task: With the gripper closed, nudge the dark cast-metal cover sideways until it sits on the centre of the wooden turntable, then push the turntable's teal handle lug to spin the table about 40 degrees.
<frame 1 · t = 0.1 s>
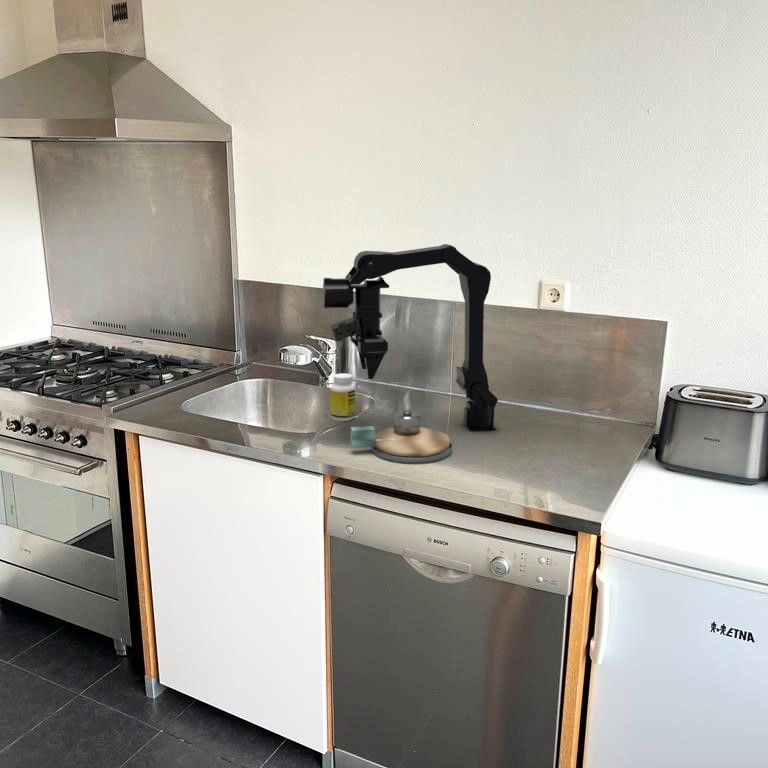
hand: (367, 373, 178), 14 cm above the worktop, fingers open, 9 cm apart
pill bottle: (343, 418, 192), on the worktop
turntable: (400, 435, 169), point 3 cm above the worktop, hinge at 0.0°, touching cover
cover: (406, 431, 175), point 2 cm above the worktop, touching turntable
base: (411, 449, 171), on the worktop
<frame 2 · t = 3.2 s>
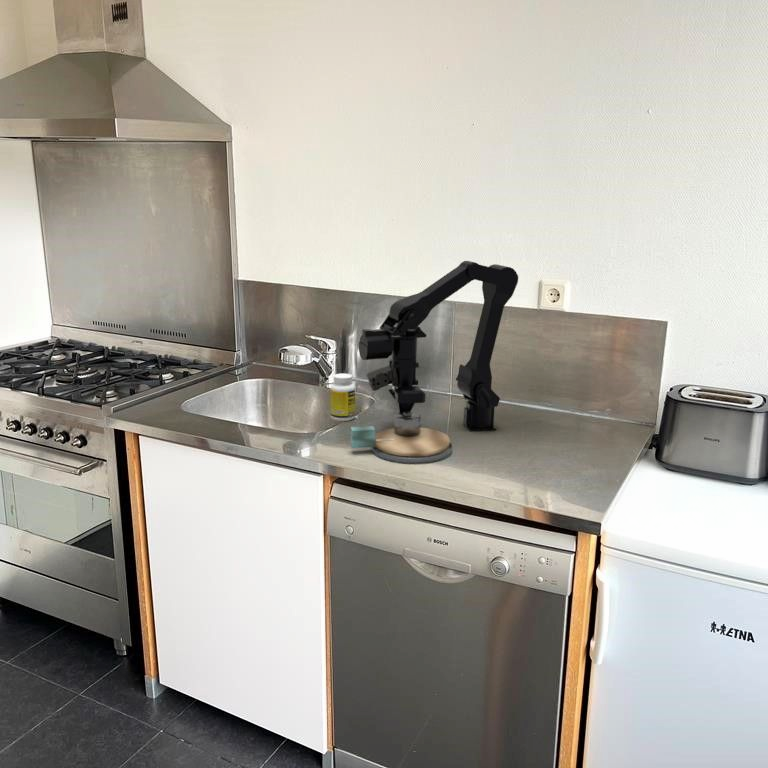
hand: (402, 421, 179), 4 cm above the worktop, fingers closed
turntable: (400, 435, 169), point 3 cm above the worktop, hinge at 0.1°
cover: (407, 432, 174), point 3 cm above the worktop, touching gripper
everything else where it was.
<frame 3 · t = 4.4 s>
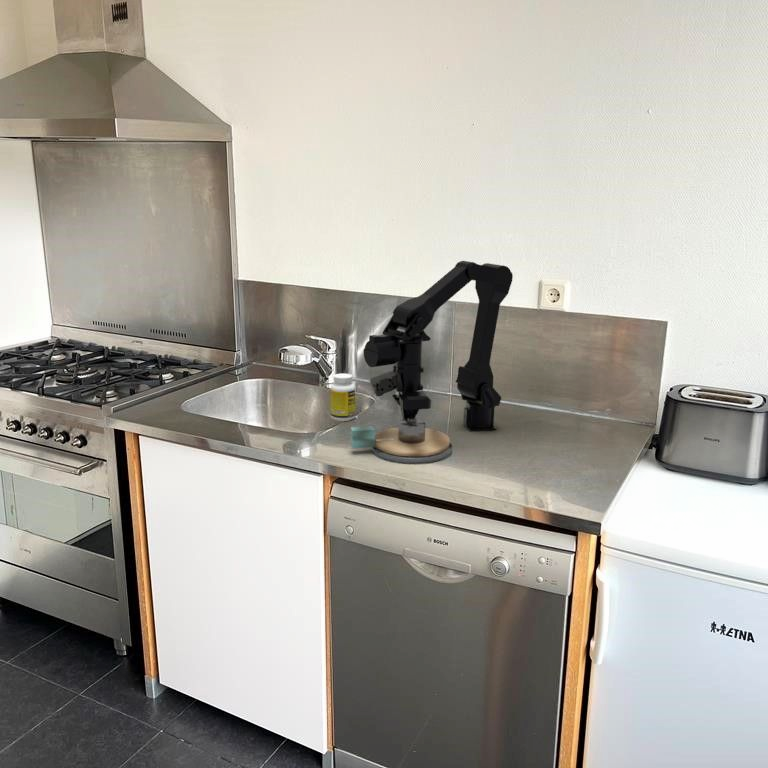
hand: (407, 427, 174), 4 cm above the worktop, fingers closed
turntable: (400, 435, 169), point 4 cm above the worktop, hinge at 0.1°, touching cover
cover: (411, 439, 170), point 2 cm above the worktop, touching gripper, turntable
everything else where it was.
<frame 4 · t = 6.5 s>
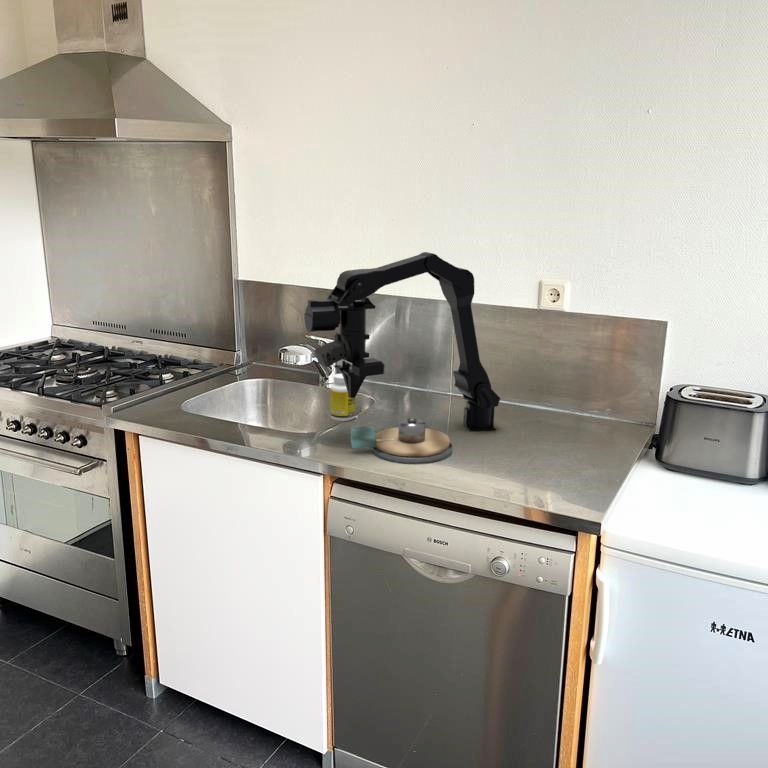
hand: (352, 397, 171), 11 cm above the worktop, fingers closed
cover: (411, 439, 170), point 2 cm above the worktop, touching turntable
everything else where it was.
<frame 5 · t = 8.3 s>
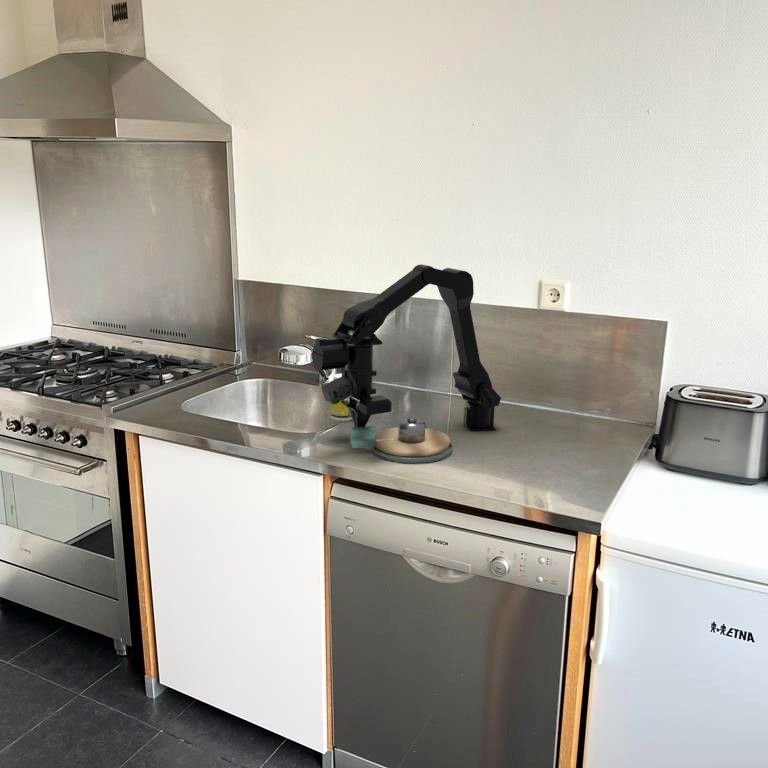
hand: (359, 433, 170), 4 cm above the worktop, fingers closed
turntable: (400, 435, 169), point 3 cm above the worktop, hinge at 0.5°, touching cover, gripper
everything else where it was.
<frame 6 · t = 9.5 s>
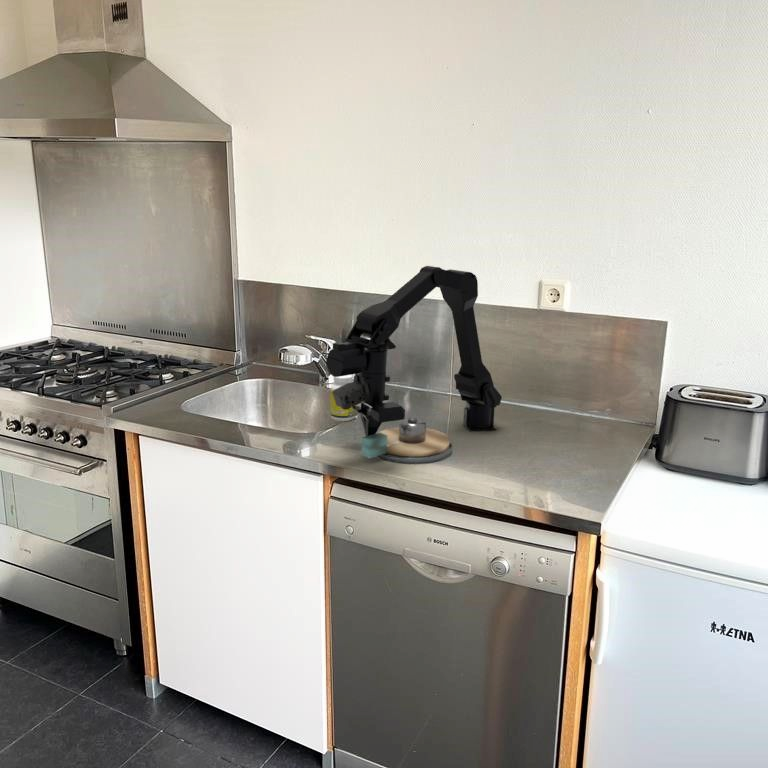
hand: (369, 440, 165), 4 cm above the worktop, fingers closed
turntable: (403, 436, 168), point 4 cm above the worktop, hinge at 30.9°, touching cover, gripper
everything else where it was.
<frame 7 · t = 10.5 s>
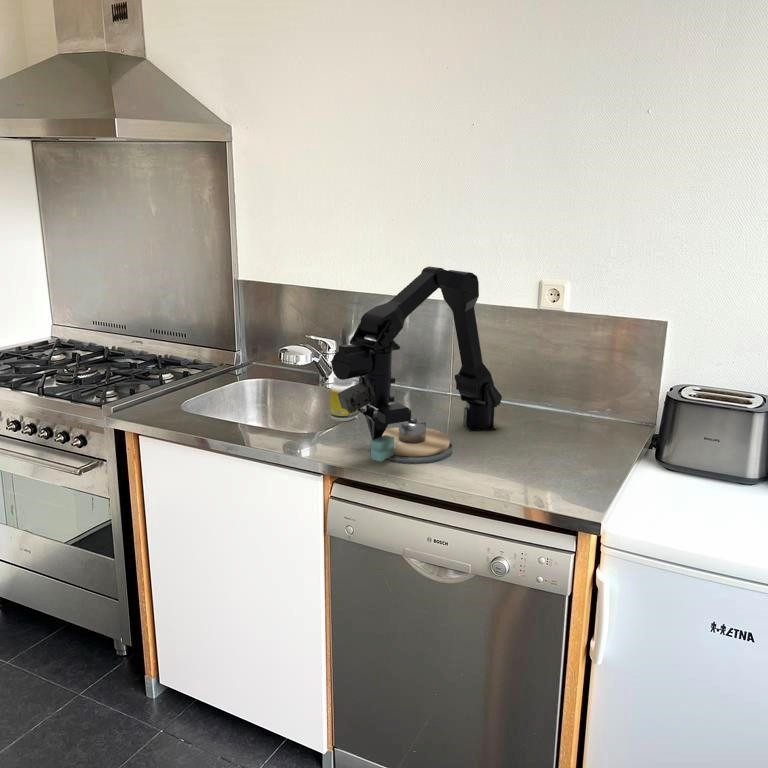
hand: (375, 442, 163), 4 cm above the worktop, fingers closed
turntable: (405, 437, 168), point 3 cm above the worktop, hinge at 43.3°, touching cover, gripper
everything else where it was.
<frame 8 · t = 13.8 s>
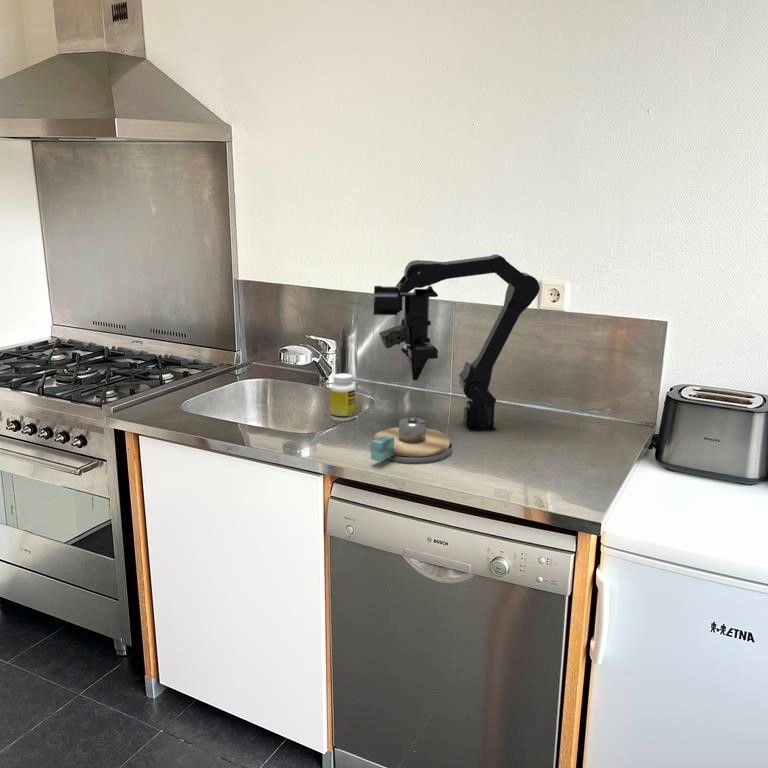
hand: (414, 379, 183), 12 cm above the worktop, fingers closed
turntable: (405, 437, 168), point 3 cm above the worktop, hinge at 43.5°, touching cover
everything else where it was.
at the end: cover 0.1 cm from the turntable (horizontally); turntable at +44° (first picture: +0°); cover tilted 0° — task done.
